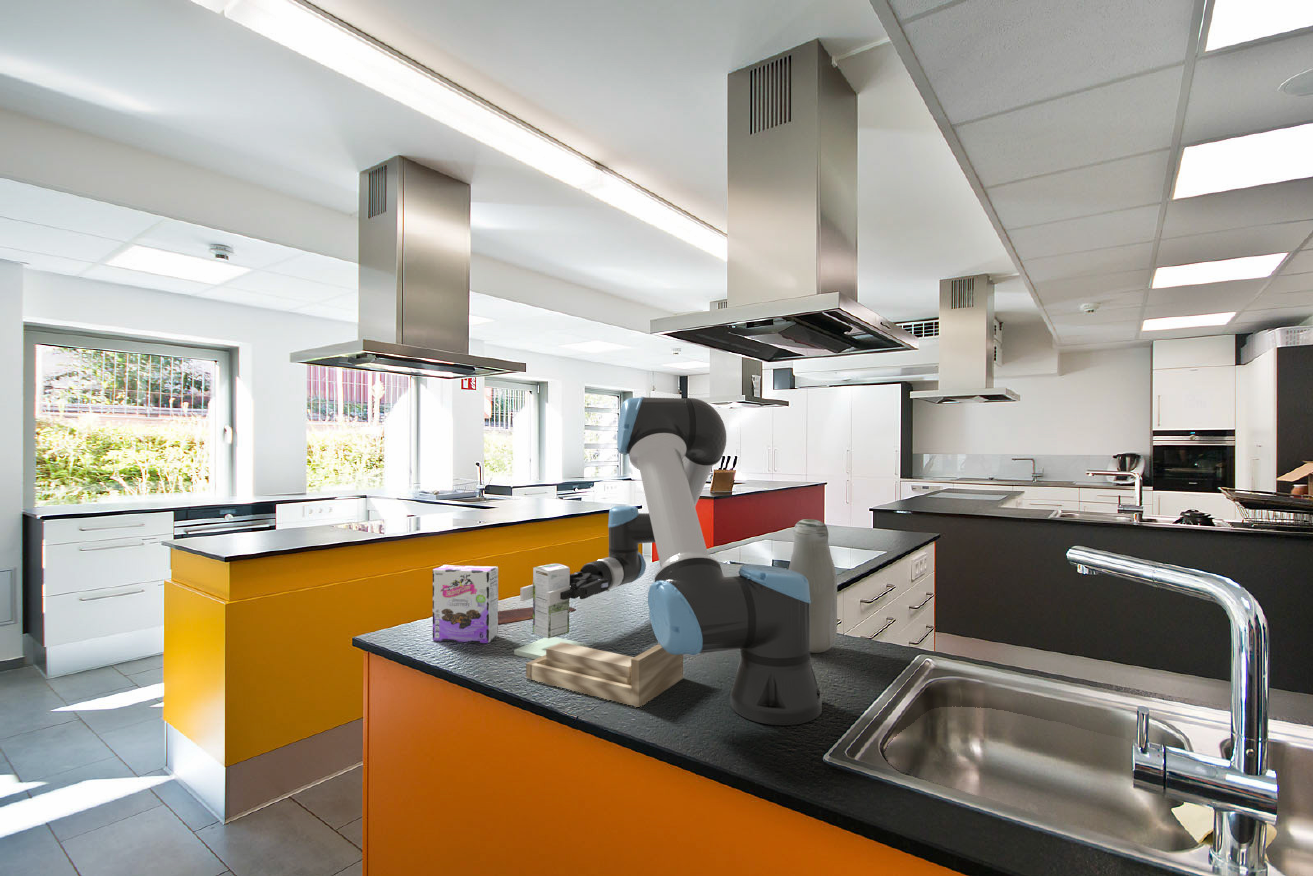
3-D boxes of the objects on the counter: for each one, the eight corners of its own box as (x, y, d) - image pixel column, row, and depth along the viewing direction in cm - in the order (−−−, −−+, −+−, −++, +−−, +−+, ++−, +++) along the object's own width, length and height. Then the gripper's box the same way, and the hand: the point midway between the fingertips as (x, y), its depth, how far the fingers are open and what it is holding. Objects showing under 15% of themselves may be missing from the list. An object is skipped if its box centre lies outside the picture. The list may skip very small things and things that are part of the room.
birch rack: (683, 678, 117) (682, 635, 117) (638, 708, 104) (638, 660, 104) (577, 655, 130) (577, 617, 131) (526, 679, 117) (525, 637, 117)
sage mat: (587, 648, 135) (587, 643, 135) (554, 663, 125) (554, 659, 125) (548, 640, 140) (548, 636, 140) (514, 654, 131) (514, 649, 131)
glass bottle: (843, 648, 134) (841, 518, 134) (827, 662, 125) (825, 523, 125) (799, 640, 139) (798, 515, 139) (781, 653, 131) (780, 520, 131)
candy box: (431, 641, 140) (430, 568, 141) (444, 633, 146) (444, 563, 146) (488, 644, 138) (488, 570, 138) (499, 636, 144) (498, 565, 144)
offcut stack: (645, 693, 111) (644, 659, 111) (631, 702, 107) (630, 667, 107) (560, 672, 121) (560, 641, 121) (544, 680, 117) (544, 648, 118)
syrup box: (553, 627, 137) (553, 562, 137) (570, 633, 133) (570, 566, 133) (532, 633, 133) (532, 566, 133) (548, 639, 129) (548, 570, 129)
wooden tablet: (564, 600, 173) (579, 603, 165) (564, 608, 173) (579, 612, 164) (468, 615, 159) (479, 619, 151) (469, 624, 159) (479, 629, 150)
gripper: (634, 596, 143) (571, 621, 124) (568, 586, 154) (500, 608, 134) (634, 564, 144) (571, 584, 124) (568, 556, 154) (500, 573, 134)
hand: (535, 596), depth 129 cm, fingers closed on syrup box, 7 cm apart
